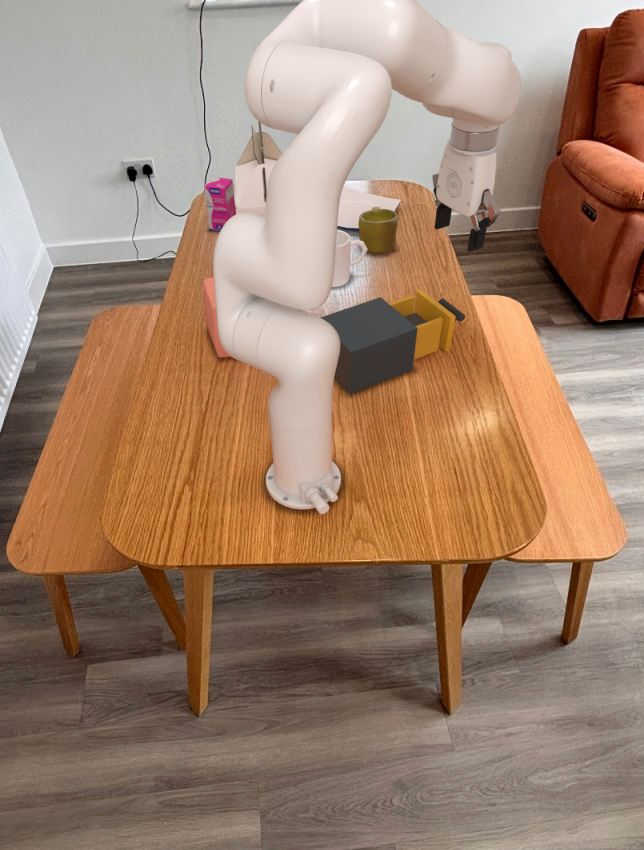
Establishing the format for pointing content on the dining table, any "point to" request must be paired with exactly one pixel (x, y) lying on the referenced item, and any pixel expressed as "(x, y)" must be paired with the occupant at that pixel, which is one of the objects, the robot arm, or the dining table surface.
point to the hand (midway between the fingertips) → (458, 238)
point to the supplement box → (219, 202)
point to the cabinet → (372, 344)
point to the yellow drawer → (430, 321)
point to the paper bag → (255, 173)
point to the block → (415, 319)
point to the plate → (360, 207)
